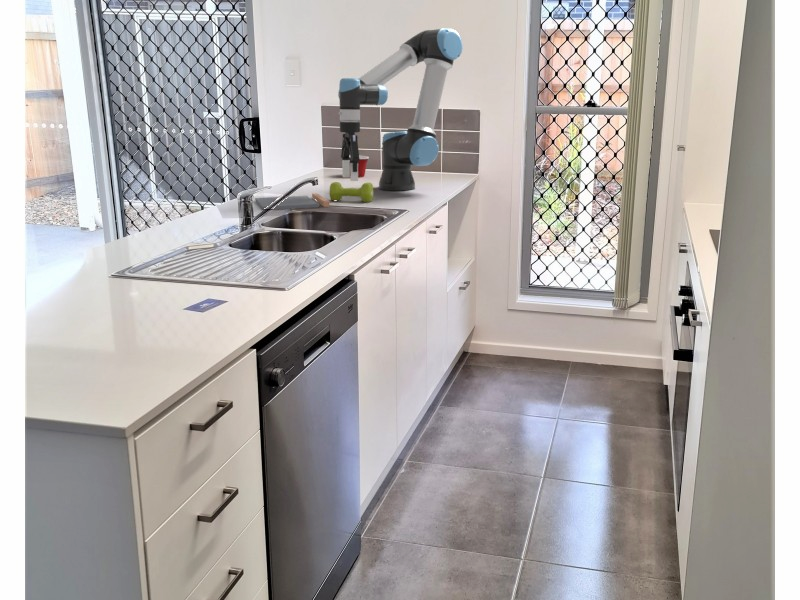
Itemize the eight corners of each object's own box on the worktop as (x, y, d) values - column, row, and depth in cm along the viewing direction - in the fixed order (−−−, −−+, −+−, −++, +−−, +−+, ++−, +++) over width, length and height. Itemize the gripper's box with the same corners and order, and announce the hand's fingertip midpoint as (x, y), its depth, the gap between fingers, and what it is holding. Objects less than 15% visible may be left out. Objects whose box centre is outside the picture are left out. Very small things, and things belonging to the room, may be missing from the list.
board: (307, 198, 306) (307, 195, 305) (318, 207, 283) (318, 204, 283) (255, 201, 300) (255, 198, 300) (263, 210, 278) (262, 206, 278)
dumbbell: (375, 200, 301) (375, 181, 299) (369, 203, 293) (369, 184, 291) (334, 199, 304) (333, 181, 303) (327, 202, 297) (327, 183, 295)
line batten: (317, 198, 307) (317, 193, 306) (329, 206, 285) (329, 201, 284) (312, 198, 306) (312, 193, 306) (324, 207, 284) (323, 201, 283)
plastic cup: (363, 183, 353) (362, 156, 350) (341, 182, 357) (341, 156, 354) (373, 181, 363) (373, 155, 359) (352, 180, 367) (351, 154, 364)
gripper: (333, 120, 301) (333, 176, 307) (347, 122, 278) (347, 182, 284) (352, 120, 304) (352, 175, 309) (367, 122, 280) (367, 182, 286)
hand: (350, 179), depth 296 cm, fingers open, 13 cm apart
